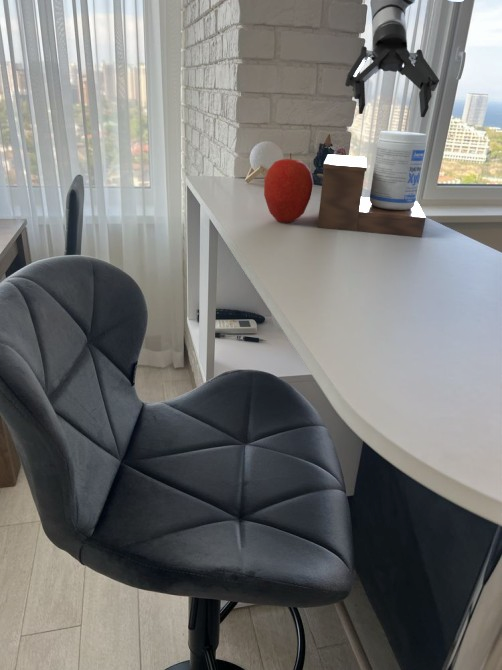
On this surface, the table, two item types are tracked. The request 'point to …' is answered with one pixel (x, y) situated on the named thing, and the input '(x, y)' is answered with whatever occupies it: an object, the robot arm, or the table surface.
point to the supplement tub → (397, 169)
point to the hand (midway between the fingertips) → (393, 111)
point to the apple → (288, 189)
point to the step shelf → (360, 202)
